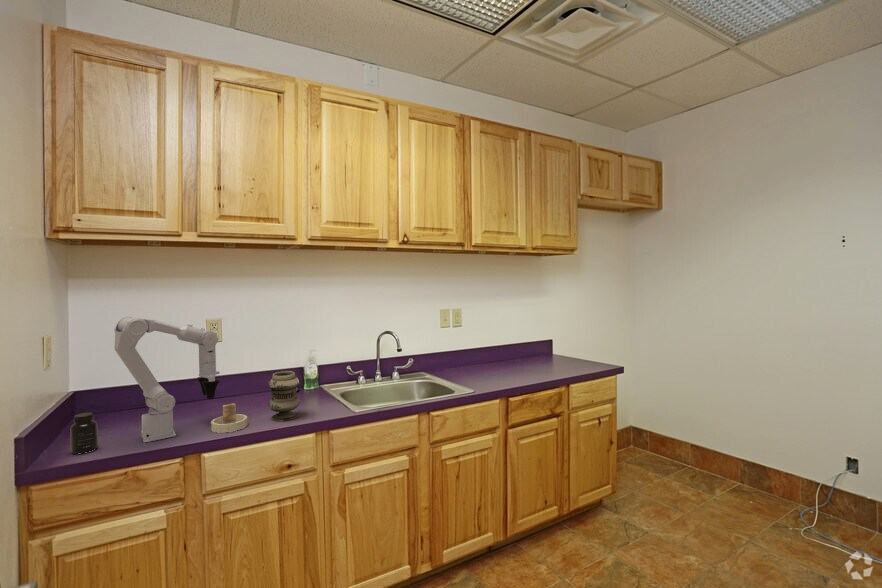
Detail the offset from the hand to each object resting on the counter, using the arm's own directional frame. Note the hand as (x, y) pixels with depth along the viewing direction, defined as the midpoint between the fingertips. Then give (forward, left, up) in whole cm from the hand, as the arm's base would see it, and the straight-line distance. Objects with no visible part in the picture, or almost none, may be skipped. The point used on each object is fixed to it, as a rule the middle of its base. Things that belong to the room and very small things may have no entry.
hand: (208, 396), depth 165 cm
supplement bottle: (-37, -3, -11) cm, 39 cm away
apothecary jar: (+25, -12, -11) cm, 30 cm away
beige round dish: (+5, -10, -10) cm, 15 cm away
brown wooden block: (+5, -10, -10) cm, 15 cm away
